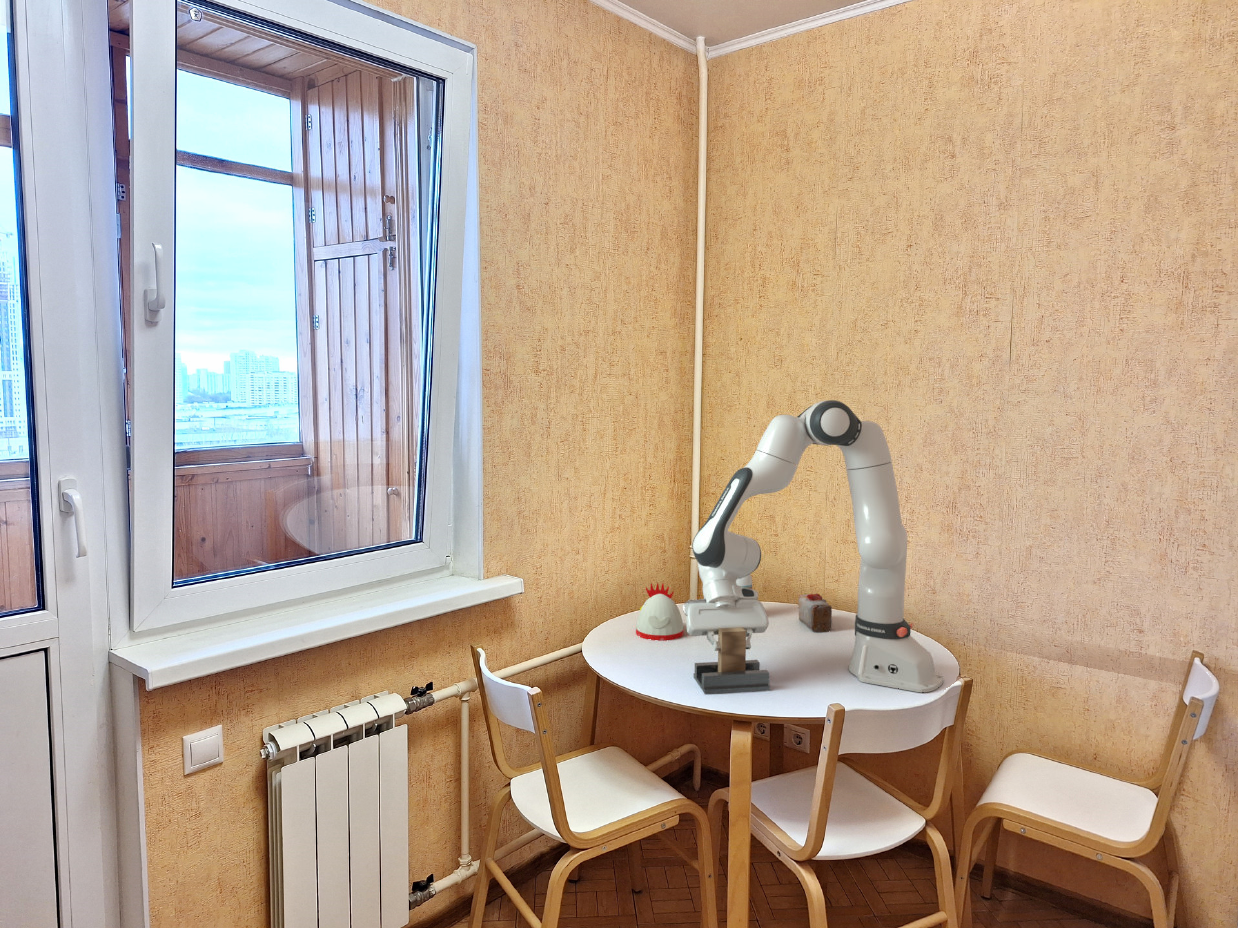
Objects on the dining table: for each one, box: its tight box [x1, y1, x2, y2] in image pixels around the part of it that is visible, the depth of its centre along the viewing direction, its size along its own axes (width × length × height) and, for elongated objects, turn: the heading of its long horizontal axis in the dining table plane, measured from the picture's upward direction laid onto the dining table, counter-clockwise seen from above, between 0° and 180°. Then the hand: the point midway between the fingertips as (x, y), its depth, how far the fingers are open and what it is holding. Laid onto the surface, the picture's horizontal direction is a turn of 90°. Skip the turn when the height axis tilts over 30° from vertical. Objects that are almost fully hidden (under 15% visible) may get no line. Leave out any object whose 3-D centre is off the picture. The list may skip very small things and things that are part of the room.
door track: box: [693, 659, 771, 695], centre depth 195 cm, size 16×11×4 cm
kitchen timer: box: [635, 582, 685, 642], centre depth 234 cm, size 14×14×15 cm
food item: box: [797, 593, 833, 633], centre depth 242 cm, size 14×8×10 cm, turn 6°
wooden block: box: [717, 627, 747, 672], centre depth 195 cm, size 6×3×11 cm, turn 99°
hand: (732, 649), depth 194 cm, fingers closed on wooden block, 6 cm apart
